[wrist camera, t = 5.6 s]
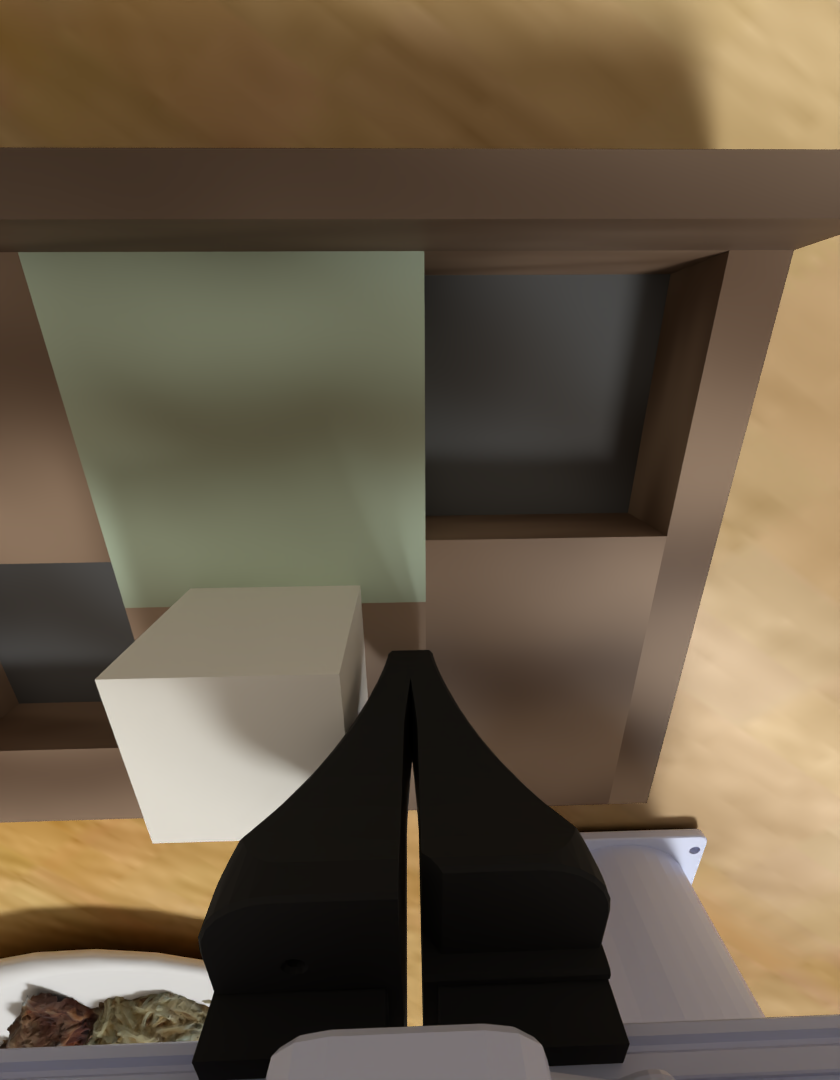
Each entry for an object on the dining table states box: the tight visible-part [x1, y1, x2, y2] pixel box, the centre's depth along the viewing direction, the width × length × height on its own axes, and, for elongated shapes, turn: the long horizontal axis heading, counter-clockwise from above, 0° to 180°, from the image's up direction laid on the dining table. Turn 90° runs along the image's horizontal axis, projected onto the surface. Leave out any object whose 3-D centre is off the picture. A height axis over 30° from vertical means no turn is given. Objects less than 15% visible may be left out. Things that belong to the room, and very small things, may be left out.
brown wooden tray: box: [0, 148, 840, 822], centre depth 13 cm, size 19×27×4 cm
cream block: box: [95, 585, 368, 843], centre depth 11 cm, size 5×5×4 cm
